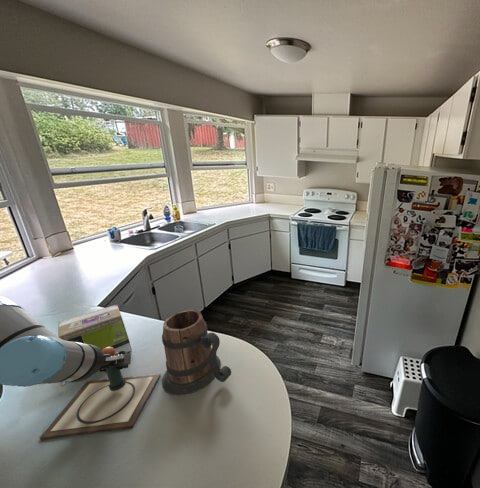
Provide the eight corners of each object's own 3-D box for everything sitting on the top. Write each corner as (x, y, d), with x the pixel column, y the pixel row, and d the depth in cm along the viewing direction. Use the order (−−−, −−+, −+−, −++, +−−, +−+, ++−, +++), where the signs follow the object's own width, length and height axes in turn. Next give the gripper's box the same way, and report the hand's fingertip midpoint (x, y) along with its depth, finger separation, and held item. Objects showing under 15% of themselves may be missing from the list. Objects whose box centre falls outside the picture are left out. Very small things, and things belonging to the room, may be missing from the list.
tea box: (127, 336, 94) (117, 303, 89) (132, 351, 87) (122, 315, 82) (72, 357, 84) (57, 320, 79) (72, 375, 77) (57, 336, 72)
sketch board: (40, 440, 60) (38, 436, 60) (87, 383, 75) (86, 380, 74) (132, 427, 63) (131, 424, 63) (160, 375, 78) (160, 372, 78)
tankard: (148, 383, 75) (133, 329, 69) (194, 346, 90) (185, 298, 84) (208, 412, 68) (199, 354, 61) (248, 366, 83) (243, 315, 76)
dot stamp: (106, 391, 69) (93, 354, 64) (114, 380, 72) (102, 344, 68) (121, 390, 69) (109, 352, 65) (128, 379, 73) (117, 343, 68)
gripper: (17, 393, 48) (83, 387, 68) (118, 371, 54) (151, 371, 74) (26, 352, 51) (86, 357, 71) (120, 335, 57) (152, 344, 77)
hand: (119, 364), depth 73 cm, fingers closed on dot stamp, 3 cm apart
